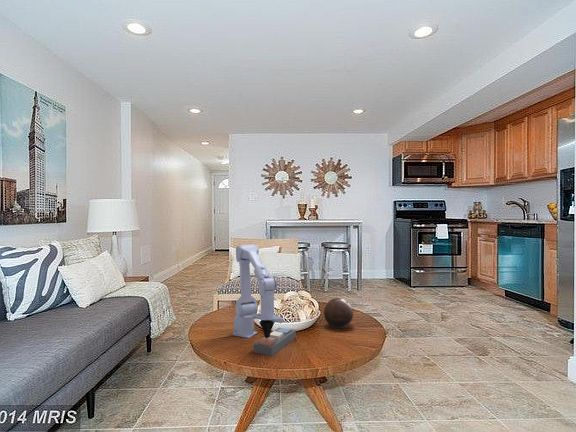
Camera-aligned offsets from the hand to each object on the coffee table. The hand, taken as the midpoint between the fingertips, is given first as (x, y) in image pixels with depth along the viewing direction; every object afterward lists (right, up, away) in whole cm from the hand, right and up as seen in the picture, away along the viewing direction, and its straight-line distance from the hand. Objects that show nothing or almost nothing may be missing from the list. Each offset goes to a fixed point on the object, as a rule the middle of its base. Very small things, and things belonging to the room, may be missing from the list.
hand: (267, 337), depth 149 cm
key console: (+4, -6, +7) cm, 10 cm away
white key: (+4, -3, +7) cm, 9 cm away
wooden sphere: (+35, -6, +31) cm, 47 cm away
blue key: (+7, -4, +14) cm, 17 cm away
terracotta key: (0, -3, 0) cm, 3 cm away
